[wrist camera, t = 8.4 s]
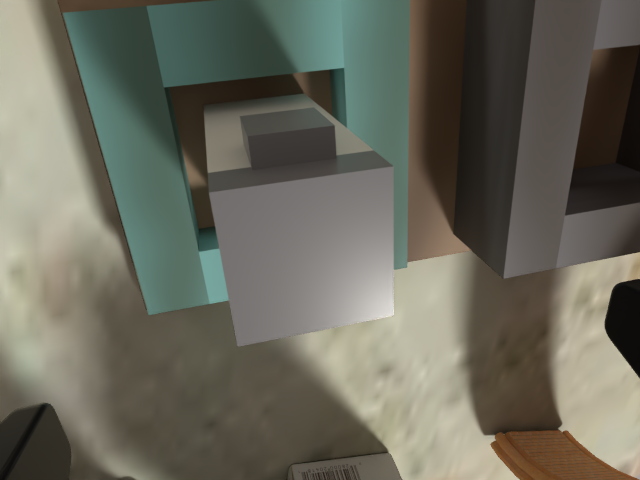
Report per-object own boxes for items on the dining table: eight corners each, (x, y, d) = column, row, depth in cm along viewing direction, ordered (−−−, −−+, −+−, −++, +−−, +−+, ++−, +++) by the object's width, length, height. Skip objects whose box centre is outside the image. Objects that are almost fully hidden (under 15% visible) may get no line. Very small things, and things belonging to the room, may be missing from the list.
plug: (220, 200, 18) (237, 346, 11) (199, 84, 16) (201, 155, 9) (312, 187, 19) (393, 315, 11) (302, 73, 17) (393, 130, 9)
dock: (148, 296, 21) (135, 375, 16) (59, -23, 15) (3, -34, 11) (634, 210, 25) (728, 254, 20) (700, -67, 19) (849, -89, 15)
